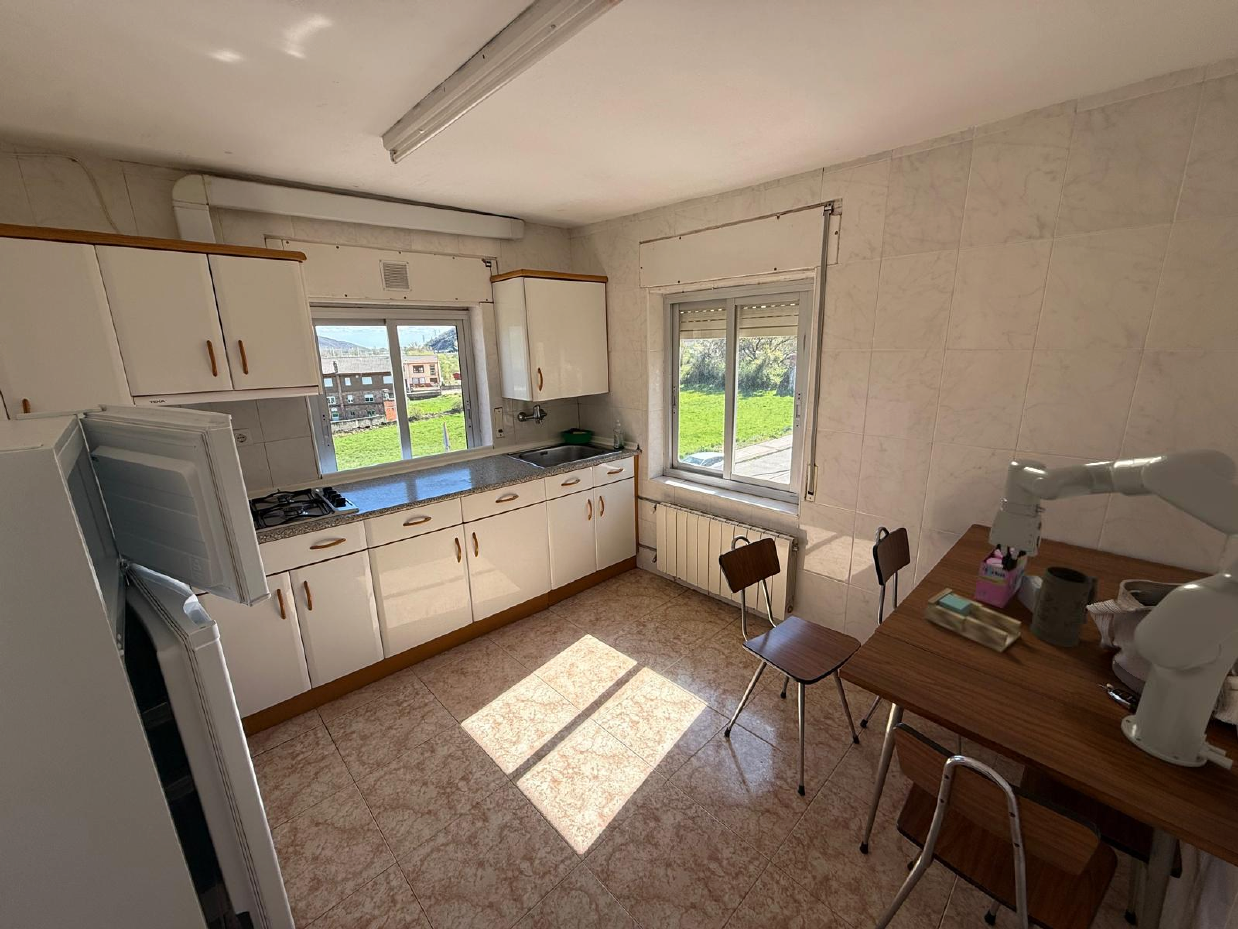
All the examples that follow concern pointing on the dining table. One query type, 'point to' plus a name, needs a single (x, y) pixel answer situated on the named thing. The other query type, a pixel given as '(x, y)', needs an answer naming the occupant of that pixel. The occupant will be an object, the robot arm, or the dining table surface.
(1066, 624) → the beer stein
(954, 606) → the block
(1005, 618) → the chute
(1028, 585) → the medicine box
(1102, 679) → the dining table surface
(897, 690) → the dining table surface
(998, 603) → the gum box
